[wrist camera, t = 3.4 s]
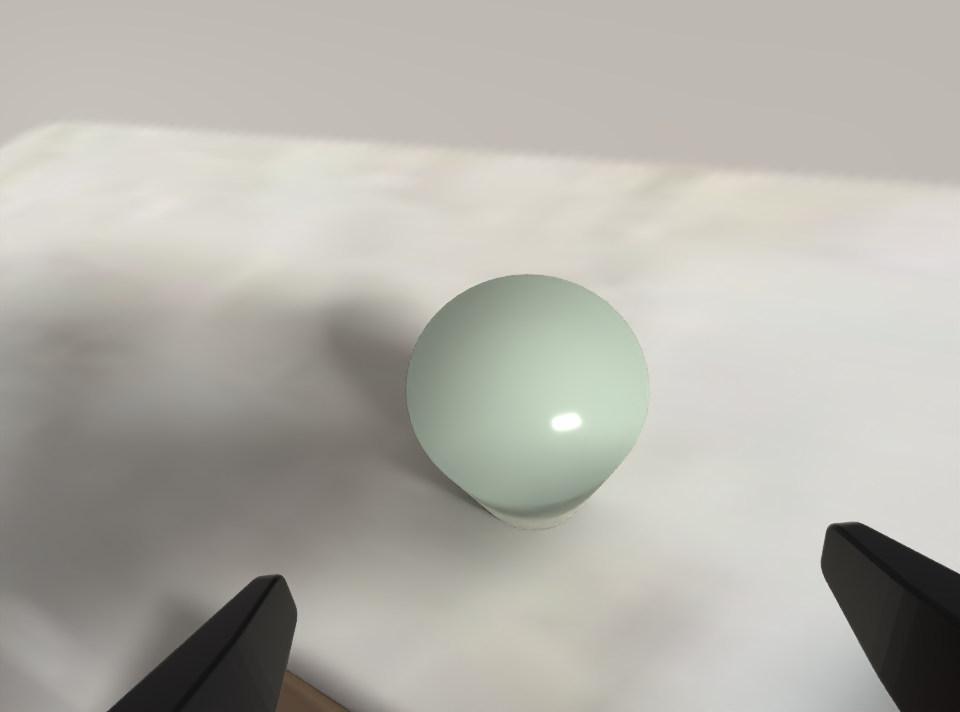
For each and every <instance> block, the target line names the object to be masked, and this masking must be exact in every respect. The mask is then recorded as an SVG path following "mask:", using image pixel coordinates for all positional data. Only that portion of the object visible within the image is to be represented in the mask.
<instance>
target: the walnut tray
mask: <svg viewBox="0 0 960 712" xmlns="http://www.w3.org/2000/svg"><path fill="white" fill-rule="evenodd" d="M276 712H350V711H348V710H347V709H345V708H344V707H342V706H341V705H339V704H338V703H336V702H334V701H333V700H331V699H330V698H328V697H327V696H325V695H324V694H322V693H321V692H319V691H318V690H316V689H314V688H313V687H311V686H310V685H308V684H307V683H305V682H304V681H302V680H301V679H299V678H298V677H296V676H294V675H293V674H291V673H290V672H288V671H287V670H286V672H285V676H284V680H283V685H282V689H281V694H280V698H279V703H278V707H277V711H276Z"/></svg>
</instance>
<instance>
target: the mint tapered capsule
mask: <svg viewBox="0 0 960 712" xmlns="http://www.w3.org/2000/svg"><path fill="white" fill-rule="evenodd" d="M406 399H407V408H408V413H409V417H410V421H411V424H412V427H413V429H414V432H415V434H416V437H417V439H418V441H419V442H420V444H421V446H422V448H423V450H424V451H425V452H426V454H427V455H428V456H429V458H430V459H431V460H432V462H433V463H434V464H435V465H436V466H437V467H438V468H439V469H440V470H441V471H442V472H443V473H444V474H445V475H446V476H447V477H449V478H450V479H451V480H452V481H453V482H455V483H456V484H457V485H458V486H459V487H461V488H462V489H463V490H464V491H465V492H467V493H468V494H469V495H470V496H471V497H472V498H474V499H475V500H476V501H477V502H478V503H480V504H481V505H482V506H483V507H484V508H486V509H487V510H488V511H489V512H490V513H492V514H493V515H494V516H495V517H497V518H498V519H499V520H501V521H502V522H504V523H506V524H508V525H510V526H513V527H516V528H519V529H524V530H543V529H548V528H551V527H554V526H557V525H559V524H561V523H563V522H564V521H566V520H567V519H569V518H570V517H571V516H572V515H573V514H575V513H576V511H577V510H578V509H579V508H580V507H581V506H582V505H583V504H584V503H585V502H586V501H587V500H588V499H589V498H590V496H591V495H592V494H593V493H594V492H595V491H596V490H597V489H598V488H599V487H600V486H601V485H602V484H603V483H604V481H605V480H606V479H607V478H608V477H609V476H610V475H611V474H612V473H613V472H614V471H615V470H616V469H617V467H618V466H619V465H620V464H621V463H622V462H623V460H624V459H625V458H626V457H627V456H628V454H629V453H630V451H631V449H632V448H633V446H634V445H635V443H636V441H637V439H638V437H639V435H640V432H641V430H642V428H643V425H644V422H645V418H646V415H647V410H648V403H649V376H648V369H647V364H646V361H645V357H644V354H643V351H642V348H641V346H640V344H639V342H638V340H637V338H636V336H635V334H634V333H633V331H632V329H631V328H630V326H629V325H628V323H627V322H626V321H625V320H624V319H623V317H622V316H621V315H620V314H619V313H618V312H617V311H616V310H615V309H614V308H613V307H612V306H611V305H610V304H609V303H608V302H606V301H605V300H603V299H602V298H601V297H599V296H598V295H597V294H595V293H593V292H591V291H590V290H588V289H586V288H584V287H582V286H580V285H577V284H575V283H572V282H570V281H567V280H563V279H559V278H556V277H550V276H544V275H528V274H525V275H511V276H506V277H501V278H496V279H493V280H490V281H486V282H483V283H481V284H479V285H476V286H474V287H472V288H470V289H468V290H466V291H464V292H463V293H461V294H459V295H458V296H456V297H455V298H454V299H452V300H451V301H450V302H448V303H447V304H446V305H445V306H444V307H443V308H442V309H441V310H440V311H439V312H438V313H436V315H435V316H434V317H433V318H432V319H431V321H430V322H429V323H428V324H427V326H426V327H425V329H424V331H423V332H422V334H421V335H420V337H419V339H418V341H417V343H416V346H415V348H414V350H413V353H412V356H411V359H410V362H409V367H408V373H407V379H406Z"/></svg>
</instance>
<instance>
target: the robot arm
mask: <svg viewBox="0 0 960 712" xmlns="http://www.w3.org/2000/svg"><path fill="white" fill-rule="evenodd" d="M821 569H822V573H823V575H824V578H825V580H826V582H827V583H828V585H829V587H830V589H831V591H832V593H833V595H834V597H835V598H836V600H837V602H838V604H839V606H840V608H841V610H842V611H843V613H844V615H845V617H846V619H847V621H848V623H849V624H850V626H851V628H852V630H853V632H854V634H855V636H856V637H857V639H858V641H859V643H860V645H861V647H862V649H863V650H864V652H865V654H866V656H867V658H868V660H869V662H870V663H871V665H872V667H873V669H874V670H875V672H876V674H877V676H878V677H879V679H880V681H881V682H882V684H883V685H884V687H885V689H886V690H887V692H888V693H889V695H890V696H891V698H892V699H893V701H894V703H895V704H896V706H897V707H898V709H899V710H900V712H960V574H959V573H957V572H955V571H953V570H951V569H949V568H947V567H945V566H944V565H942V564H940V563H938V562H936V561H934V560H932V559H930V558H928V557H926V556H924V555H922V554H920V553H918V552H916V551H915V550H913V549H911V548H909V547H907V546H905V545H903V544H901V543H899V542H897V541H895V540H893V539H891V538H889V537H888V536H886V535H884V534H882V533H880V532H878V531H876V530H874V529H872V528H870V527H868V526H866V525H864V524H862V523H859V522H844V523H834V524H831V525H829V527H828V528H827V530H826V535H825V540H824V546H823V551H822V557H821ZM296 622H297V608H296V605H295V602H294V600H293V597H292V595H291V592H290V590H289V588H288V585H287V583H286V580H285V578H284V577H283V576H282V575H279V574H276V575H266V576H259V577H257V578H255V579H254V580H253V581H251V582H250V583H249V584H248V585H247V586H246V587H245V588H244V589H243V590H241V591H240V592H239V593H238V594H237V595H236V596H235V597H234V598H233V599H231V600H230V601H229V602H228V603H227V604H226V605H225V606H224V607H223V608H221V609H220V610H219V611H218V612H217V613H216V614H215V615H214V616H213V617H211V618H210V619H209V620H208V621H207V622H206V623H205V624H204V625H203V626H201V627H200V628H199V629H198V630H197V631H196V632H195V633H194V634H193V635H191V636H190V637H189V638H188V639H187V640H186V641H185V642H184V643H183V644H181V645H180V646H179V647H178V648H177V649H176V650H175V651H174V652H173V653H172V654H170V655H169V656H168V657H167V658H166V659H165V660H164V661H163V662H162V663H160V664H159V665H158V666H157V667H156V668H155V669H154V670H153V671H152V672H150V673H149V674H148V675H147V676H146V677H145V678H144V679H143V680H142V681H140V682H139V683H138V684H137V685H136V686H135V687H134V688H133V689H132V690H130V691H129V692H128V693H127V694H126V695H125V696H124V697H123V698H122V699H120V700H119V701H118V702H117V703H116V704H115V705H114V706H113V707H112V708H110V709H109V710H108V711H107V712H276V711H277V707H278V703H279V698H280V694H281V689H282V685H283V680H284V676H285V672H286V667H287V663H288V658H289V654H290V649H291V645H292V640H293V636H294V632H295V627H296Z"/></svg>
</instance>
